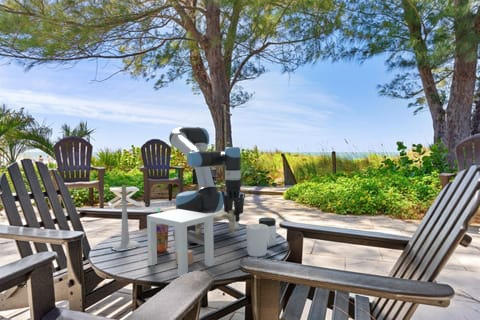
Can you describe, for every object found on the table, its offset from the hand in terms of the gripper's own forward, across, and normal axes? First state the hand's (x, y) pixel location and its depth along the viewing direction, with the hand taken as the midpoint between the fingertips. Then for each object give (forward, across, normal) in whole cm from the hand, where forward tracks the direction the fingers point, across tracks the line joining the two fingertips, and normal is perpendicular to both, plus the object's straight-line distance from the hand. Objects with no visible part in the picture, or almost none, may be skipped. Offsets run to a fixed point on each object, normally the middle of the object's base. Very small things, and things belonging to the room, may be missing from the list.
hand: (233, 227), depth 145 cm
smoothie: (+8, -20, -28) cm, 36 cm away
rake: (+2, 0, -11) cm, 11 cm away
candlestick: (+9, -39, -34) cm, 53 cm away
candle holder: (+8, +17, -4) cm, 19 cm away
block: (+8, 0, -31) cm, 32 cm away
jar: (+8, +13, +10) cm, 18 cm away
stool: (+8, 0, -33) cm, 34 cm away
